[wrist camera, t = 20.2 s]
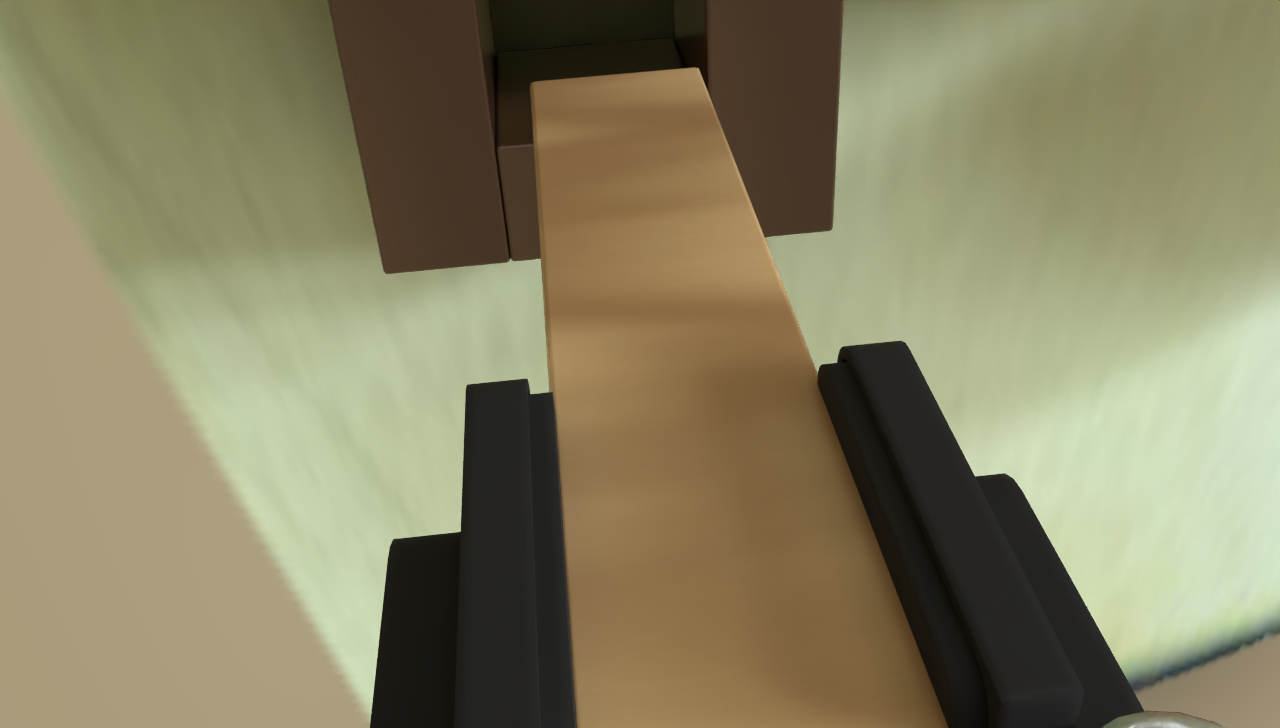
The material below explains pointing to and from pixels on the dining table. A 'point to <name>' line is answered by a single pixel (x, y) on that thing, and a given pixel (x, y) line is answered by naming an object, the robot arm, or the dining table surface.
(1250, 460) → the dining table surface
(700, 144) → the light brown wooden bar
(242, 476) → the dining table surface
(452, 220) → the utensil stand
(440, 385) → the dining table surface
